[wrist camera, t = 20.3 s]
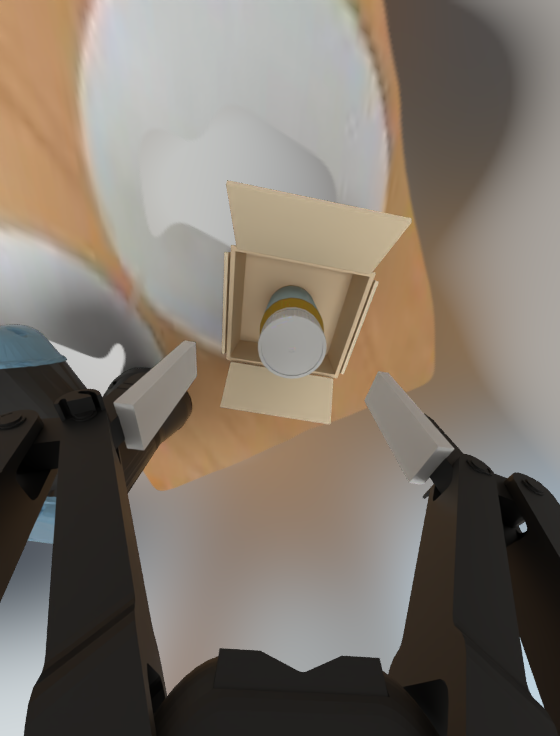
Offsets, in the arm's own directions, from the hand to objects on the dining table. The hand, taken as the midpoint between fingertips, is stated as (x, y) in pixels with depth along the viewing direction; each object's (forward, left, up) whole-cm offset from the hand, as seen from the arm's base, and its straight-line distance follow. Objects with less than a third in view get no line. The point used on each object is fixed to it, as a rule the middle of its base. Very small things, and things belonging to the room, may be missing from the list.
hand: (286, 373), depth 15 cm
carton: (0, 0, -19) cm, 19 cm away
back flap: (0, -9, -9) cm, 13 cm away
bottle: (0, 0, -19) cm, 19 cm away
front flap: (0, +9, -9) cm, 13 cm away
